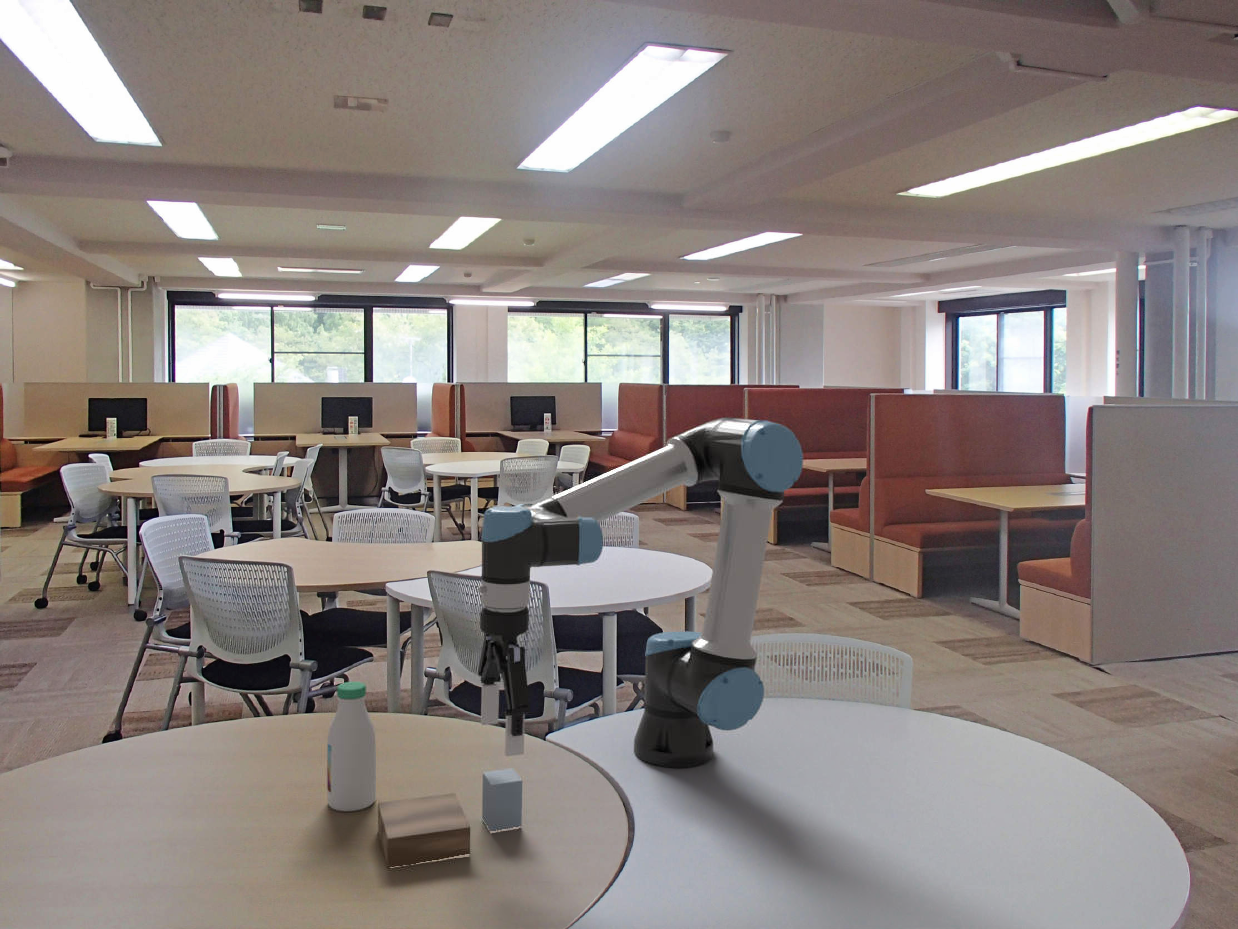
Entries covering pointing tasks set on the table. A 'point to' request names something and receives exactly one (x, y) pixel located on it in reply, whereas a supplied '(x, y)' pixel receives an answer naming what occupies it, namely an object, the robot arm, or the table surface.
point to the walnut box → (422, 829)
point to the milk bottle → (351, 752)
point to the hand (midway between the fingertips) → (501, 738)
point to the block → (502, 799)
